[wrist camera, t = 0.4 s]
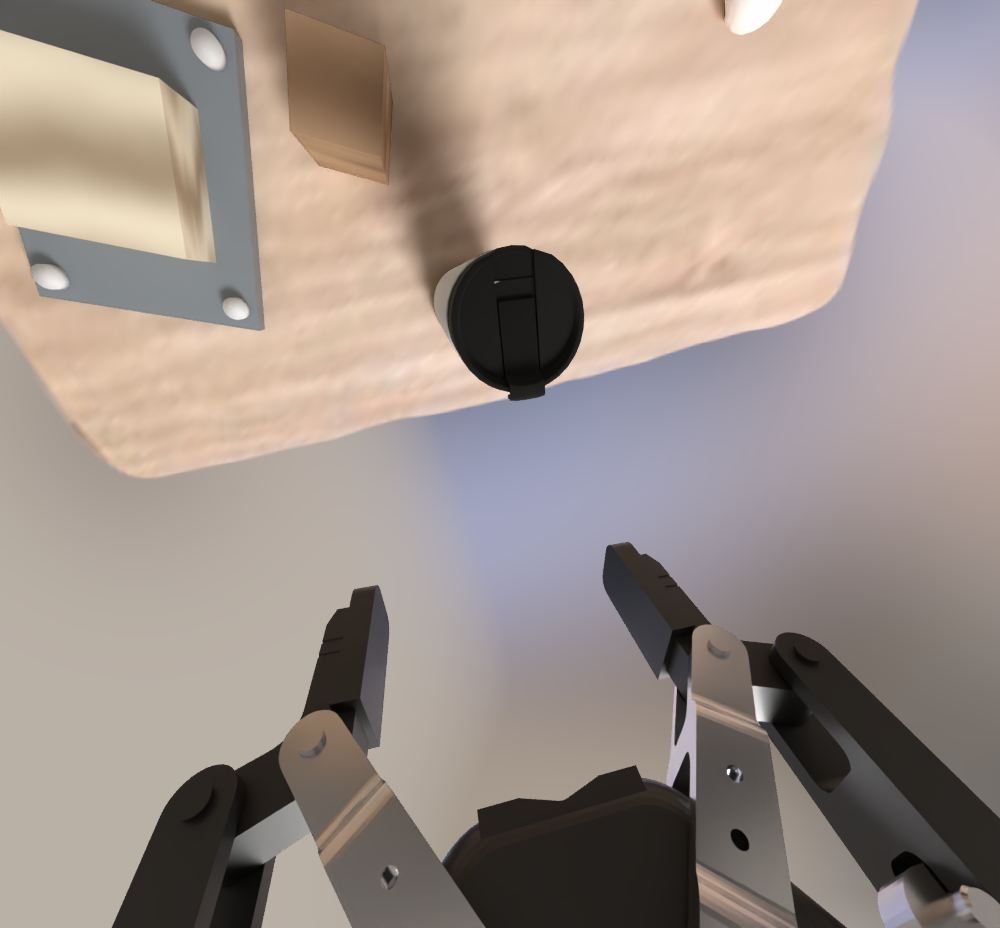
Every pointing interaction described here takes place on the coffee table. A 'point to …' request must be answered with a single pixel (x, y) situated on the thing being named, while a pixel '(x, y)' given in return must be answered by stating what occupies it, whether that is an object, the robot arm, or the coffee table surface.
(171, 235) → the birch plinth
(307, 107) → the walnut block
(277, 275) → the coffee table surface
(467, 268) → the travel mug
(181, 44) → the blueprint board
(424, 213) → the coffee table surface
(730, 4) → the white lumpy piece
